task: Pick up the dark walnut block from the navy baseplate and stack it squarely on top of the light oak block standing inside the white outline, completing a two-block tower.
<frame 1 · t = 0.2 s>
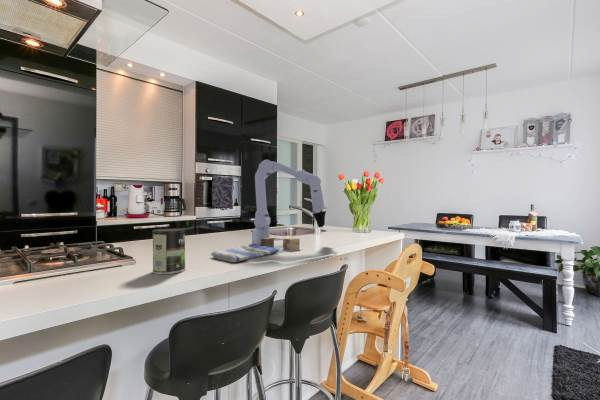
hand: (321, 226, 152), 10 cm above the countertop, tool pointing down, fingers open, 7 cm apart
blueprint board: (279, 250, 143), on the countertop
coffee can: (169, 271, 103), on the countertop
walnut block: (267, 248, 143), point 1 cm above the countertop, touching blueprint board
oak base block: (291, 249, 142), point 1 cm above the countertop, touching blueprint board
dish towel: (245, 255, 129), on the countertop, touching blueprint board
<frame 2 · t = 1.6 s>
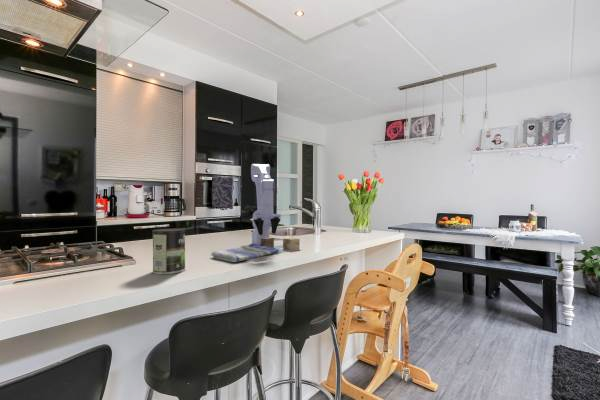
hand: (267, 234, 143), 8 cm above the countertop, tool pointing down, fingers open, 7 cm apart
nothing on the countertop moved.
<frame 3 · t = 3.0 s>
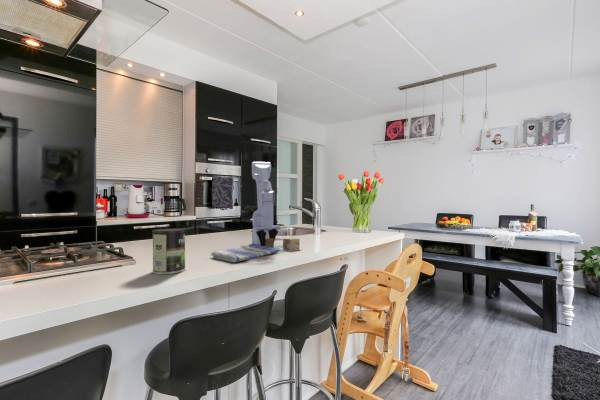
hand: (267, 245, 143), 2 cm above the countertop, tool pointing down, fingers closed on walnut block, 4 cm apart
walnut block: (267, 248, 143), point 1 cm above the countertop, touching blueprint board, gripper
everything else where it was.
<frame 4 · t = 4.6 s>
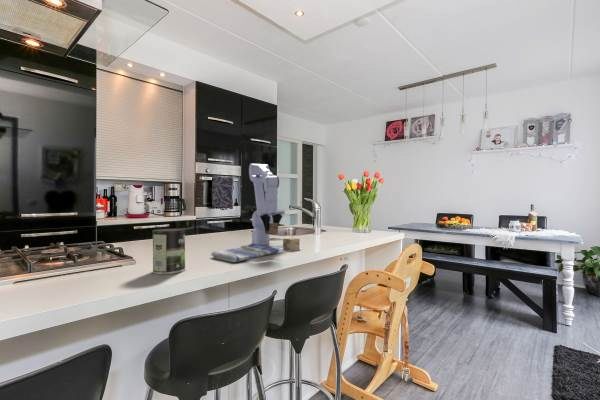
hand: (271, 230, 143), 9 cm above the countertop, tool pointing down, fingers closed on walnut block, 4 cm apart
walnut block: (271, 233, 143), point 8 cm above the countertop, touching gripper
everything else where it was.
when the fingers open (8 cm above the countertop, at t = 6.3 s): walnut block stays where it is, resting on oak base block.
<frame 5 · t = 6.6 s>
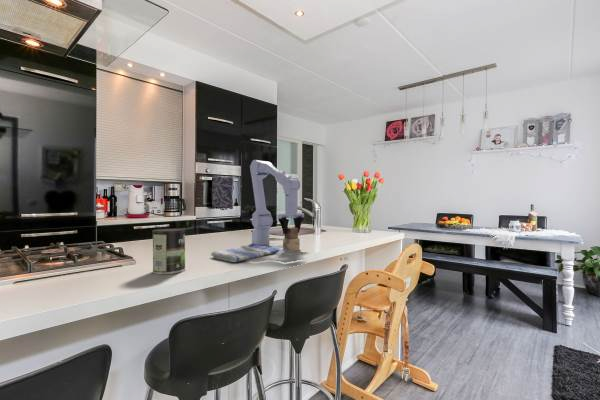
hand: (291, 233, 142), 8 cm above the countertop, tool pointing down, fingers open, 7 cm apart
walnut block: (291, 238, 142), point 6 cm above the countertop, touching oak base block
oak base block: (291, 249, 142), point 1 cm above the countertop, touching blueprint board, walnut block
everything else where it was.
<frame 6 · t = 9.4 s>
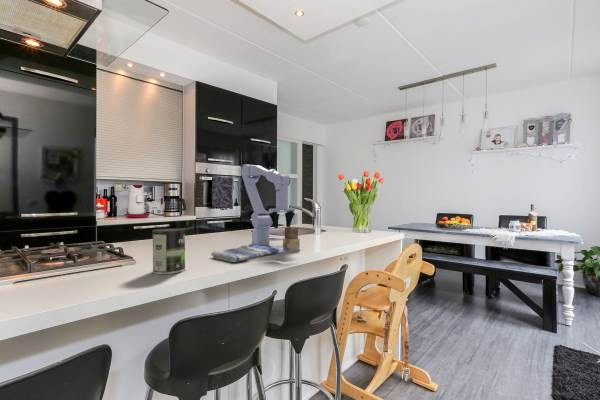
hand: (282, 227, 147), 10 cm above the countertop, tool pointing down, fingers open, 7 cm apart
nothing on the countertop moved.
at the end: walnut block 0.1 cm off-centre on the oak base block, point 5.0 cm above the oak base block's base; walnut block tilted 0°; oak base block moved 0.0 cm from its start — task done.
